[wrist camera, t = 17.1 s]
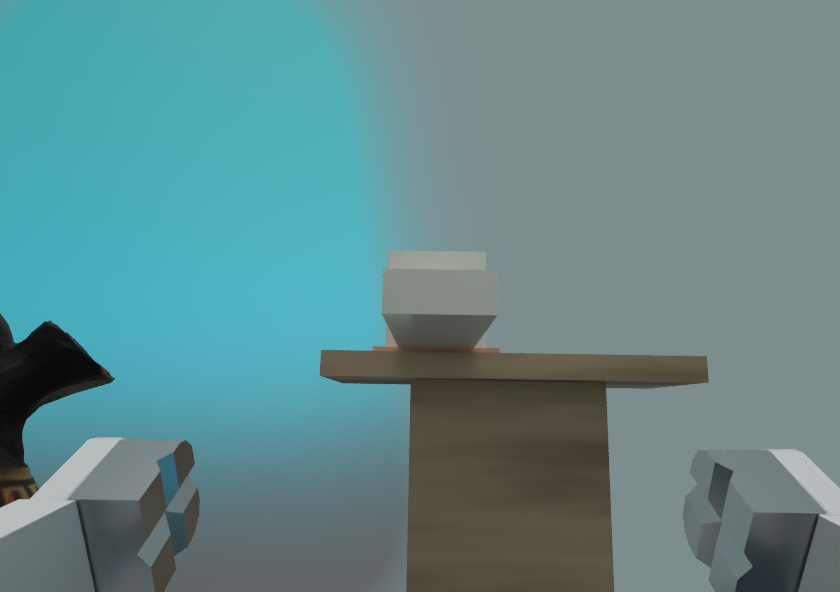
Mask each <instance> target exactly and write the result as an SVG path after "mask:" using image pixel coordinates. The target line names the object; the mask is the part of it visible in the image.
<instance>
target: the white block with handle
mask: <svg viewBox="0 0 840 592" xmlns="http://www.w3.org/2000/svg"><path fill="white" fill-rule="evenodd" d="M382 315H383V317H384V319H385V321H386V323H387V327H386V347H437V348H486V331H487V329H488V328H489V326H490V325H491V324H492V322H493V321H494V319H495V318H496V316H497V270H486V252H458V251H389V260H388V269H383V293H382Z"/></svg>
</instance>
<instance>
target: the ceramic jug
mask: <svg viewBox="0 0 840 592" xmlns="http://www.w3.org/2000/svg"><path fill="white" fill-rule="evenodd" d="M114 379H115V378H113V377H112V376H111V375H110V373H109V372H108V371H107V370H106V369H105V368H103V367H102V366H101V365H99V364H98V363H96V362H95V361H94V360H93V359H92V358H91V357H90V356H89V355H88V353H87V352H86V351H85V349H84V348H83V347H82V346H81V345H80V344H79V343H78V342H77V341H76V340H75V339H73V338H72V337H71V336H70V335H69V334H68V333H65V332H64V331H63V330H61V329H60V328H59V327H58V326H57V325H55V324H54V323H52V322H51V321H48V322H44V323H43V324H42V325H40V326H39V327H38V328H37V329H35V330H34V331H33V332H31V334H30V335H29V336H28V337H27V338H26V339H25V340H23V341H22V342H20V343H17V344H16V343H14V341H13V337H12V333H11V331H10V328H9V325H8V323H7V322H6V321H5V319H4V318H3V317H2V315H1V314H0V508H1V507H3V506H5V505H7V504H10V503H12V502H14V501H16V500H18V499H30V498H31V497H32V496H33V495H34V494H35V493H36V492H37V491H38V490H39V489H40V488H39V487H38V485H37V484H36V482H35V480H34V479H33V477H32V475H31V473H30V469H29V467H28V465H26V464H25V463H24V449H23V442H22V431H23V427H24V424H25V421H26V419H27V418H28V417H29V416H31V415H32V414H33V413H34V412H35V411H36V410H37V409H38V408H39V407H40V406H42V405H44V404H47V403H50V402H52V401H55V400H58V399H60V398H63V397H66V396H69V395H71V394H74V393H77V392H81V391H84V390H88V389H91V388H94V387H98V386H101V385H105V384H108V383H111V382H112V381H113V380H114Z"/></svg>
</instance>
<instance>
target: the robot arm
mask: <svg viewBox="0 0 840 592" xmlns="http://www.w3.org/2000/svg"><path fill="white" fill-rule="evenodd" d="M194 464H195V462H194V456H193V451H192V446H191V445H190V444H189V443H188V442H187V441H186V440H164V439H138V438H136V439H135V438H126V439H125V438H93V439H89V440H88V441H87V442H86V443H85V444H84V445H83V446H82V447H81V448H80V449H79V450H78V451H77V452H76V453H75V454H74V455H73V456H72V457H71V458H70V459H69V460H68V461H67V462H66V463H65V464H64V465H63V466H62V467H61V468H60V469H59V470H58V471H57V472H56V473H55V474H54V475H53V476H52V477H51V478H50V479H49V480H48V481H47V482H46V483H45V484H44V485H43V486H42V487H41V488H40V489H39V490H38V491H37V492H36V493H35V494H34V495H33V496H32V497H31V498H30V499H18V500H16V501H14V502H12V503H10V504H7V505H5V506H3V507H1V508H0V592H164V590H165V588H166V586H167V585H168V583H169V581H170V579H171V577H172V575H173V574H174V572H175V570H176V567H175V561H174V556H175V555H177V554H178V553H180V552H181V551H183V550H184V549H186V548H187V547H188V545H189V543H190V541H191V539H192V537H193V535H194V533H195V529H196V525H197V521H198V517H199V501H200V500H199V493H198V487H197V485H195V483H194V482H193V481H192V480H191V479H190V478H189V477H188V476H187V475H188V474H189V472H190V470H191V469H192V467H193V466H194ZM690 473H691V475H692V476H693V478H694V480H695V481H696V483H697V484H698V485H697V486H696V487H694V488H693V489H692V490H691V491H690V492H689V493H688V494H687V495H686V498H685V505H684V511H683V518H684V527H685V534H686V537H687V540H688V543H689V545H690V547H691V549H692V551H693V553H694V555H695V556H696V558H697V559H699V560H700V561H702V562H703V563H705V564H706V565H707V566H709V567H710V568H711V571H710V576H709V582H710V583H711V585H712V587H713V589H714V590H715V592H840V488H839V487H838V486H837V485H835V484H834V483H833V482H832V481H831V480H830V479H829V478H828V477H827V476H826V475H825V474H824V473H823V472H822V471H821V470H820V469H819V468H818V467H817V466H816V465H815V464H814V463H813V462H812V461H811V460H810V459H809V458H808V457H806V455H805V454H804V453H802V452H799V451H797V450H795V449H775V450H698V451H697V452H696V454H695V456H694V458H693V460H692V465H691V471H690Z"/></svg>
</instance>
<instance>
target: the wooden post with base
mask: <svg viewBox="0 0 840 592" xmlns="http://www.w3.org/2000/svg"><path fill="white" fill-rule="evenodd" d="M320 376H322V377H326V378H329V379H332V380H335V381H338V382H341V383H360V384H361V383H362V384H411V400H410V447H409V496H408V498H409V499H408V543H407V544H408V545H407V592H614V577H613V553H612V552H613V551H612V527H611V502H610V479H609V478H610V477H609V452H608V427H607V402H606V388H645V389H648V388H658V387H668V386H678V385H688V384H698V383H708V368H707V357H706V356H651V355H592V354H532V353H531V354H529V353H528V354H527V353H499V349H498V348H495V349H494V348H437V347H376V346H373V351H350V350H349V351H348V350H321V363H320Z"/></svg>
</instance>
